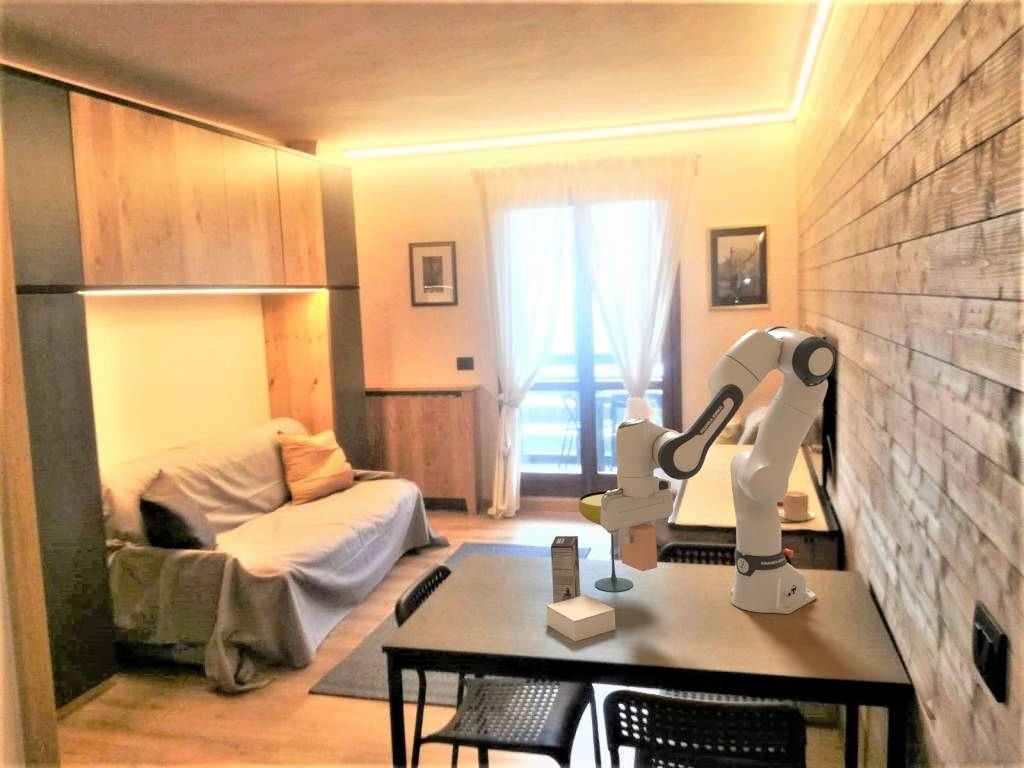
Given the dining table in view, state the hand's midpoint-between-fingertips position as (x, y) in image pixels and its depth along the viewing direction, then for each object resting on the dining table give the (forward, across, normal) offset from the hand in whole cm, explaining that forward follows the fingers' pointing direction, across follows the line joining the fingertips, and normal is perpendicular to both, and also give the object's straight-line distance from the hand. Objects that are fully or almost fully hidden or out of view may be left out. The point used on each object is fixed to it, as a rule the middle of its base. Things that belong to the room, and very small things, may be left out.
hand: (638, 540), depth 189 cm
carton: (+6, 0, 0) cm, 6 cm away
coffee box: (+21, -5, +25) cm, 33 cm away
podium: (+21, -13, +7) cm, 26 cm away
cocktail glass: (+21, +11, +25) cm, 35 cm away
